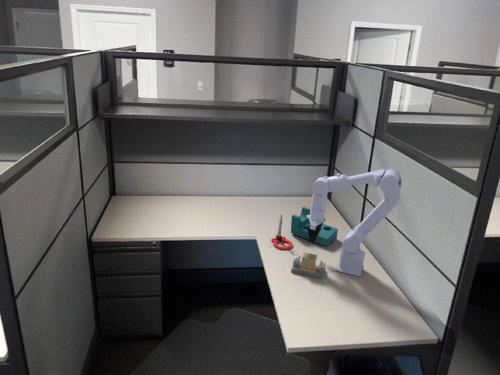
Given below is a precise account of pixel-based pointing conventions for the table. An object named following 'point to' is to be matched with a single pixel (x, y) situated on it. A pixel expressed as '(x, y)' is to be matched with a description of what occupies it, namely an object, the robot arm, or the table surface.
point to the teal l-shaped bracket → (300, 223)
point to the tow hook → (281, 238)
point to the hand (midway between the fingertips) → (313, 238)
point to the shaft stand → (316, 273)
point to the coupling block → (309, 261)
